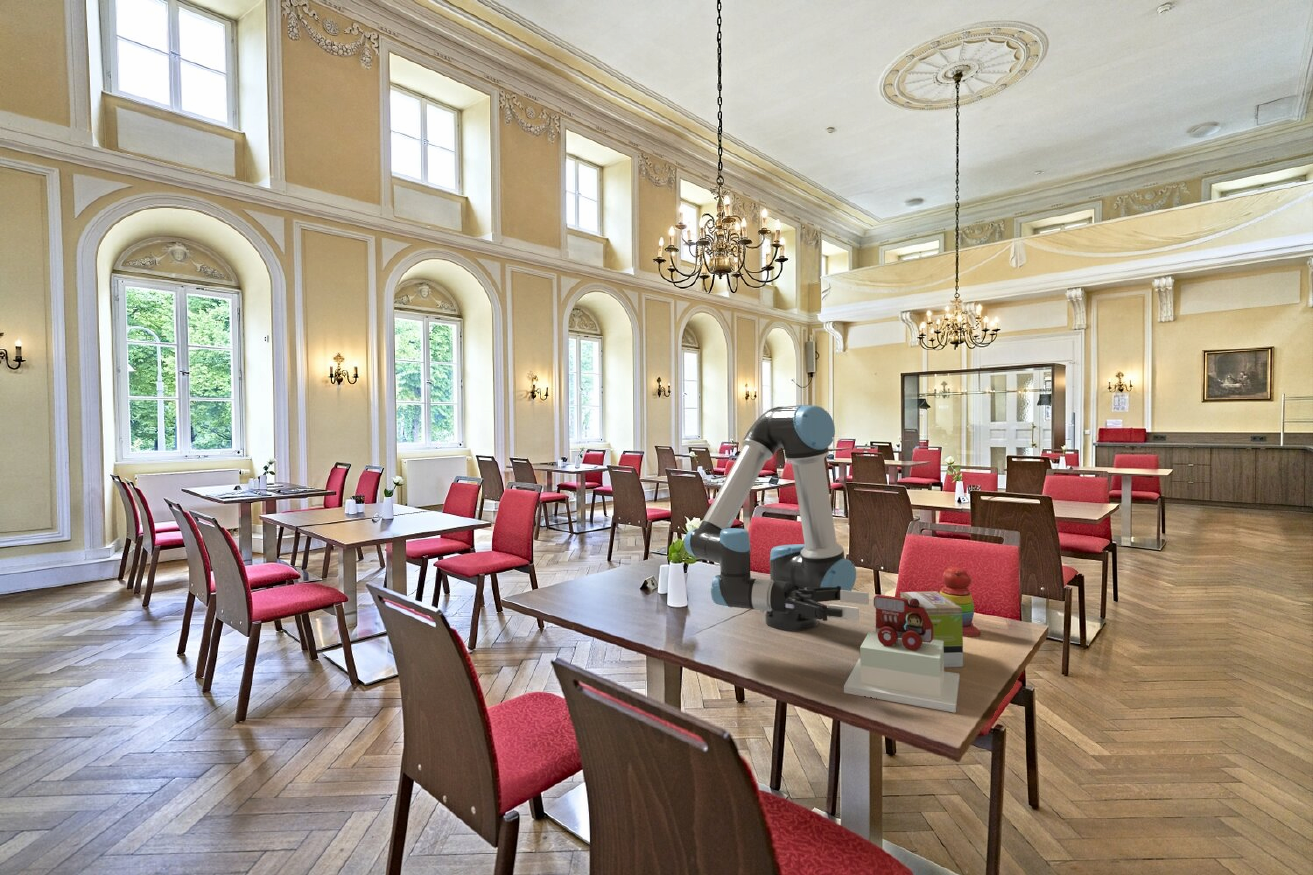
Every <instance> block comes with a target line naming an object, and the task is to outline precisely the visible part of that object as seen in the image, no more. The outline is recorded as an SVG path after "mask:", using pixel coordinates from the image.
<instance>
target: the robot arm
mask: <svg viewBox="0 0 1313 875" xmlns="http://www.w3.org/2000/svg"><path fill="white" fill-rule="evenodd" d="M835 429H836V427H835V423H834V419H833V418H832V416H831V414H830V413H829V412H828V411H827V410H825V408H823V407H821V406H819V405H809V404H803V405H788V406H775V407H773V408H770V409H768V410H767V411H765V412H764V413H762V414H761V415H760V416H759V417H758V418H757V419H756V421H755V422H754V423H753V424H752V425H751V427H750V428H749V429H748V431H747V433H746V434H745V436H744V438H743V439H742V442H741V445H742V446H741V447H742V449H740V450H741V451H740V452H739V454H738V456H737V458H736V459H735V461H734V463H733V465H731V466H732V467H731V469H730V470H729V472H728V474H727V476H726V478H725V479H724V481H723V483H722V484H721V486H720V488H719V490H718V492H717V494H716V495H715V498H714V500H713V501H712V503H711V505H710V506H709V508H708V510H707V512H706V514H705V515H704V517H703V519H702V521H701V523H700V524H699V526H698V527H697V528H692V529H690V530H689V531H687V533H686V534H685V536H684V540H683V546H684V549H685V551H686V552H687V554H688V555H691V556H693V557H694V558H696V559H699V560H706V561H710V562H713V563H716V564H720V569H719V570H720V574H717V575H715V576H714V577H713V579H712V582H711V587H710V596H711V600H712V601H713V603H714V604H716V605H718V606H723V607H728V608H736V609H747V610H757V611H759V612H761V613H765V615H764V616H765V618H764V619H765V623H766V624H767V625H768V626H770V627H772V628H775V629H779V630H784V631H806V630H810V629H814V628H815V627H817V625H818V620H819V621H820V620H822V621H823V622H827V621H828V618H834V619H840V620H847V621H849V620H850V621H857V622H859V621H860V610H859V609H860V608H859V607H857V606H856V607H855V606H847V605H839V604H831V603H829V604H828V605H826V604H825V603H821V602H831V601H837V602H838V601H839V602H841V603H850V604H857V605H858V604H860V605H869V604H870V596H869V595H870V594H869V592H867V591H866V592H864V591H855V590H853V588H854V587H855V583H856V580H857V568H856V566H855V563H853V562H852V561H851V560H850V559H847V558H846V557H845V551H844V550H845V549H844V546H842V545H841V544H839V542H837V536H836V535H837V534H836V529H835V522H834V516H833V510H832V503H831V496H830V490H829V485H828V484H829V483H828V478H827V477H828V476H827V470H826V464H825V458H826V456H827V455H828V454H829V452H830V451H829V447H830V446H831V445H832V443H833V442H834V439H833V438H834V437H835V435H836V430H835ZM780 449H783V451H784V452H783V453H784V456H785V459H786V460H787V461H789V462H790V464H791V467H792V472H793V478H794V479H793V480H794V486H795V491H796V496H797V505H798V509H799V510H798V511H799V515H800V522H801V528H802V535H803V541H804V542H803V543H804V544H803V543H800V544H799V543H797V544H783V545H777V546H774V547H773V548H771V550H770V554H769V556H770V557H769V571H770V572H769V573H770V574H769V576H770V577H769V578H770V579H766V578H764V579H763V578H753V577H752V576H751V547H752V546H751V539H750V538H751V537H750V532H749V530H747V529H745V528H737V527H735V528H734V527H733V528H732V526H733V523H734V521H735V520H736V519H737V516H738V514H739V513H740V510H741V508H742V507H743V505H744V503H745V501H746V500H747V497H748V495H749V494H750V493H751V492H750V491H752V489H753V487H754V484H755V483H756V481H757V480H758V477H759V475H760V473H761V471H763V468H764V466H765V464H766V462H767V461H769V460H772V458H773V456H774V455H775V453H776V452H777V451H778V450H780Z"/></svg>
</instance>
